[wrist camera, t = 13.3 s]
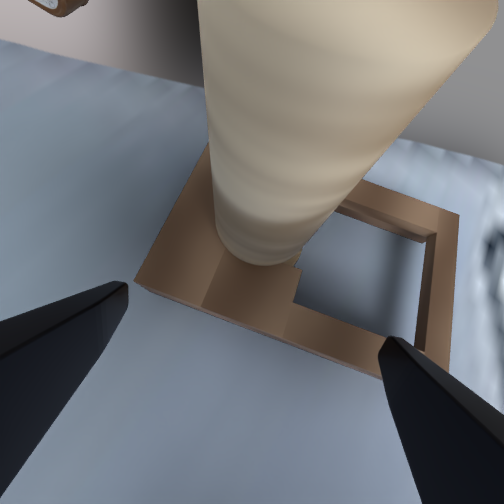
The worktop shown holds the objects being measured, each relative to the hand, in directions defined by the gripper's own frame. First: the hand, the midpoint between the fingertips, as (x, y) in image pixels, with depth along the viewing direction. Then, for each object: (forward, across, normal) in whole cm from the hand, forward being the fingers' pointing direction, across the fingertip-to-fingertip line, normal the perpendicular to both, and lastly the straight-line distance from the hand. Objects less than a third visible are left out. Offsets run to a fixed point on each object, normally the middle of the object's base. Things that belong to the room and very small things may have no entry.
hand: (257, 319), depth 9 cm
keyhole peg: (+8, 0, +1) cm, 9 cm away
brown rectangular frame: (+8, -3, +1) cm, 9 cm away
